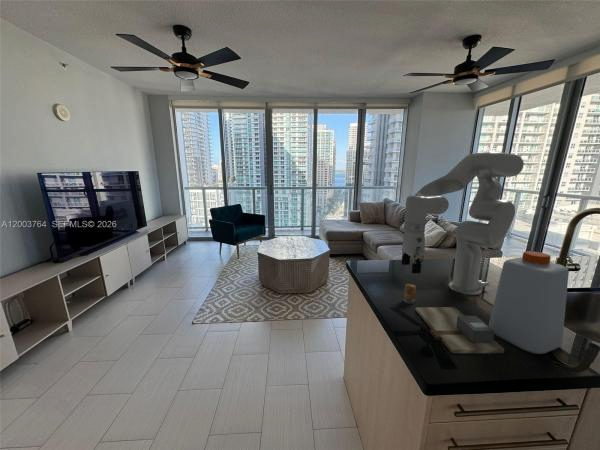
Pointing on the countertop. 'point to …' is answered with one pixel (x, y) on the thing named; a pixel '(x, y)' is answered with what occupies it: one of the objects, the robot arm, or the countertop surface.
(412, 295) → the orange brown cylinder
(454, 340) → the board
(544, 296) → the plastic bottle
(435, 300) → the countertop surface
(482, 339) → the block
